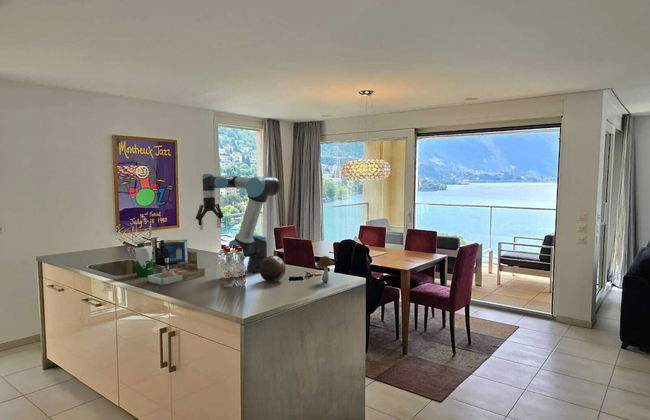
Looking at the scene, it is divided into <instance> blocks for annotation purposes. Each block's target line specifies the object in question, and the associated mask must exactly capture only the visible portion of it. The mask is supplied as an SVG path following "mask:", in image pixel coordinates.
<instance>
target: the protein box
mask: <svg viewBox="0 0 650 420" xmlns="http://www.w3.org/2000/svg"><path fill="white" fill-rule="evenodd" d="M163 242H164V245H165V248H167V249H168V252H169V263H168V264H177V263H179V262H188V259H187V252H188V251H189V250H188V239H172V240H171V239H167V240H164V241H163Z"/></svg>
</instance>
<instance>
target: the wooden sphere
mask: <svg viewBox="0 0 650 420" xmlns="http://www.w3.org/2000/svg"><path fill="white" fill-rule="evenodd" d="M259 271H260V272H259V275H260V276H261V278H262V279H263V280H265V282H268V283H275V282H279V281H280V280H282V278H283V277H284V276H285V273H286V263H285V262H284V260H283V259H282V258H280V257H279V256H277V255H276V256H275V255H269V256H267V257H266V258H265V259H264V260H263V261H262V262H261V264H260V267H259Z"/></svg>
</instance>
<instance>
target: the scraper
mask: <svg viewBox="0 0 650 420" xmlns="http://www.w3.org/2000/svg"><path fill="white" fill-rule="evenodd" d="M187 251H188V252H187V259H188V260H187V261H186V262H179V263H176V264H177V268H182V269H186V270H191V271H193V270H198V267H199V266H198V254H197V252H198V251H196V250H195V251H194V250H187Z"/></svg>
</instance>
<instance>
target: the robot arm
mask: <svg viewBox="0 0 650 420" xmlns="http://www.w3.org/2000/svg"><path fill="white" fill-rule="evenodd" d="M281 187H282V185H281V181H280V180H279V179H278V178H277V177H274V176H254V177H246V176H238V175H234V176H228V175H227V176H222V175H220V176H215V174H214V173H203V174H202V195H203V199H202V200H203V202H202V203H203V204H199V205H198V206H199V208H198V210H197V214H196V216H195V220H197V221H198V225H199V230H200V231H203V230H204V221H203V218H204V217H205V215H206V214H207V212H212V213H214V215H215V216H216V217H217V218H216V225H217V226H216V228H217V229H221V224H222V219H223V218H224V214H223V211H222V210H221V207H220V204H219V203H216V198H215V197H216V189H227V188H228V189H229V188H235V189H244V190H245V192H246V194H247V198H248V201H247V206H246V208H245V212H244V215H243V217H242V222H241V225H240V228H239V232H238V233H236V234H235V236H234V239H231V241H229V243H228V248H229V247H230V248H232V245H238V246H240V247H242V248H243V253H244V256H245V257H244V258H247V257H248V262H247V266H246V272H247V273H253V274H255V273H256V274H257V273H259V274H260V271H259V267H260V264H261V262H262V261H263V260H264V259H265V258H266V257H268V241H267V236H266V235H258V234H254V233H255V231H256V226H257V224H258V221H259V218H260V215H261V212H262V211H261V210H262V208H263V205H264V204H266V202H267V200H268V198H269V197H272V196H273V197H274V196H277V195H278V193H280V191H281V189H282V188H281Z"/></svg>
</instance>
